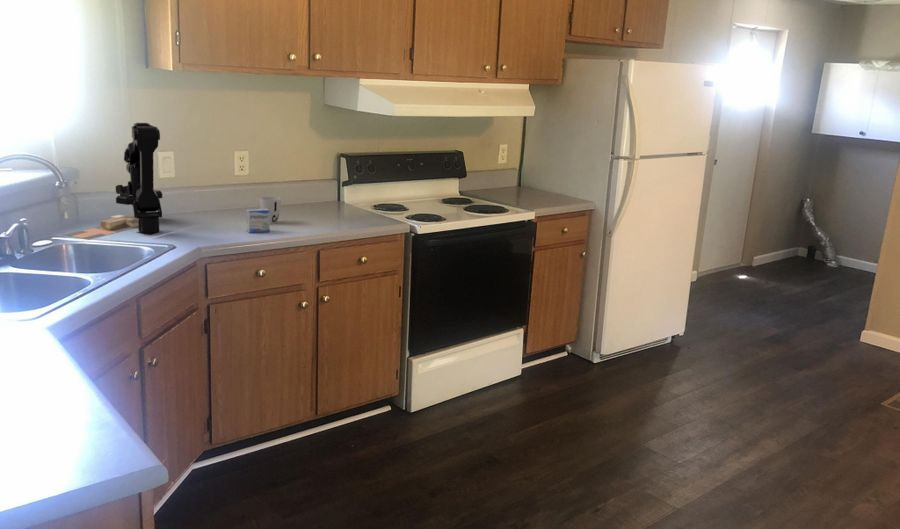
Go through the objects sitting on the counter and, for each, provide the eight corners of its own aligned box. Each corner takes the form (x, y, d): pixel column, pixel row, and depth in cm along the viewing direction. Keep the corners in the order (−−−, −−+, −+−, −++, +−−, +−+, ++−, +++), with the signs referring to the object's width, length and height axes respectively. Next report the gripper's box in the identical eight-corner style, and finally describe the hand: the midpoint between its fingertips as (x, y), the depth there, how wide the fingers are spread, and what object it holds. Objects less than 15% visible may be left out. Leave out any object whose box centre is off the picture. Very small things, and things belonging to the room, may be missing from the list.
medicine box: (249, 233, 272) (248, 210, 269) (246, 230, 275) (246, 208, 273) (269, 232, 275) (269, 210, 273) (267, 229, 279) (266, 207, 277)
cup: (275, 225, 287) (275, 200, 284) (256, 223, 288) (256, 198, 286) (283, 221, 295) (283, 197, 292) (265, 219, 296) (265, 195, 293)
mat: (144, 227, 272) (144, 225, 271) (89, 241, 247) (88, 239, 247) (119, 223, 275) (118, 221, 275) (61, 236, 251) (61, 235, 251)
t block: (140, 225, 271) (139, 218, 270) (116, 231, 260) (115, 223, 259) (119, 222, 274) (118, 214, 273) (94, 228, 263) (93, 220, 262)
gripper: (139, 173, 284) (141, 212, 289) (102, 179, 267) (105, 220, 271) (162, 176, 281) (164, 216, 285) (126, 182, 264) (129, 224, 268)
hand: (141, 219), depth 277 cm, fingers closed
